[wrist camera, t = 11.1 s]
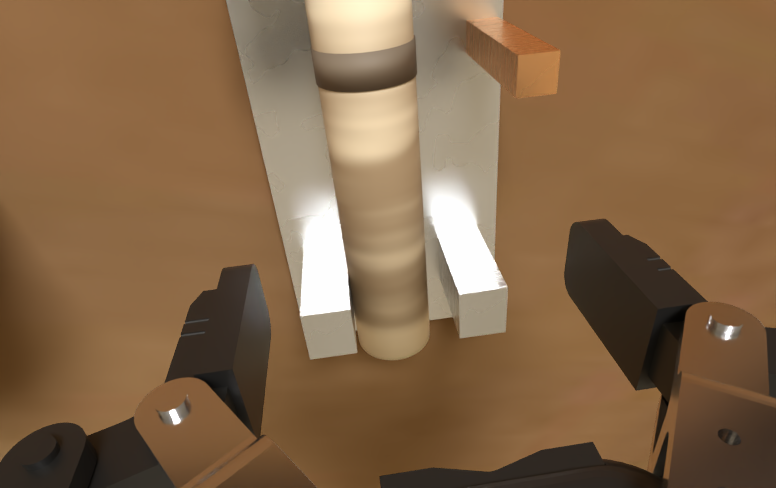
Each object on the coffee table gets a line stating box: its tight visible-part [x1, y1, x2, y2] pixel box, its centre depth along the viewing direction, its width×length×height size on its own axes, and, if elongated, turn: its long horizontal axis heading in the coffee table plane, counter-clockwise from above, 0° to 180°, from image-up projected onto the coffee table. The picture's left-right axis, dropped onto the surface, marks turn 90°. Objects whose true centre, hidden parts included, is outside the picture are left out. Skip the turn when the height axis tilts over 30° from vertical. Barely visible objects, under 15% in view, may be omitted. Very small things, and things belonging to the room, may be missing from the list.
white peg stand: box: [226, 0, 561, 360], centre depth 19 cm, size 10×22×7 cm, turn 5°
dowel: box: [304, 0, 430, 360], centre depth 19 cm, size 20×4×4 cm, turn 5°
